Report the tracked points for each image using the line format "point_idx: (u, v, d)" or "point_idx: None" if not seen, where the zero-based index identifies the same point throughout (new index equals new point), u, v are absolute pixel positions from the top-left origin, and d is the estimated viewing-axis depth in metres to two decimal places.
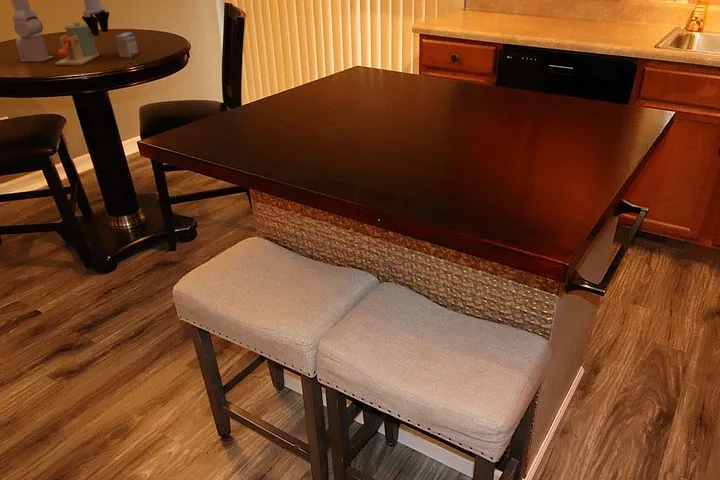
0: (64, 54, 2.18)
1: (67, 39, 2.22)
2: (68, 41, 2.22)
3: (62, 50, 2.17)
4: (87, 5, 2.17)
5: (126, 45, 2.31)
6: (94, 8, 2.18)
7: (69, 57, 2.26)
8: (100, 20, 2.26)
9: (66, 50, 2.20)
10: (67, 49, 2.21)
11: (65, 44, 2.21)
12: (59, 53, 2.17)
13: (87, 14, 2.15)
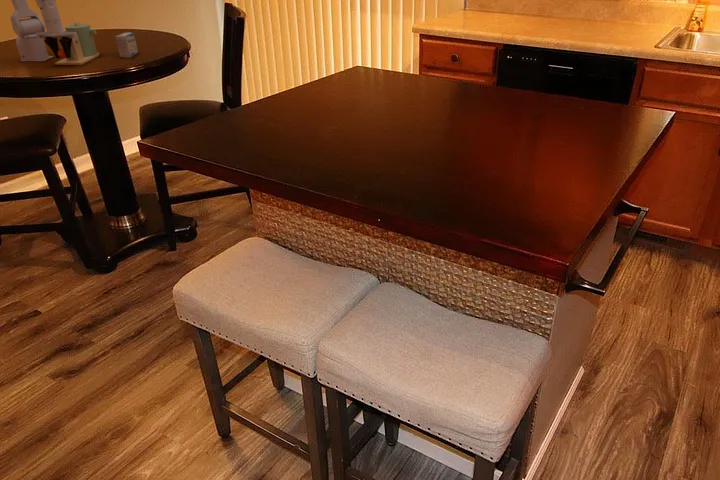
0: (64, 54, 2.18)
1: None
2: None
3: (62, 50, 2.17)
4: None
5: (126, 45, 2.31)
6: (47, 32, 2.13)
7: None
8: None
9: None
10: None
11: None
12: (59, 53, 2.17)
13: None
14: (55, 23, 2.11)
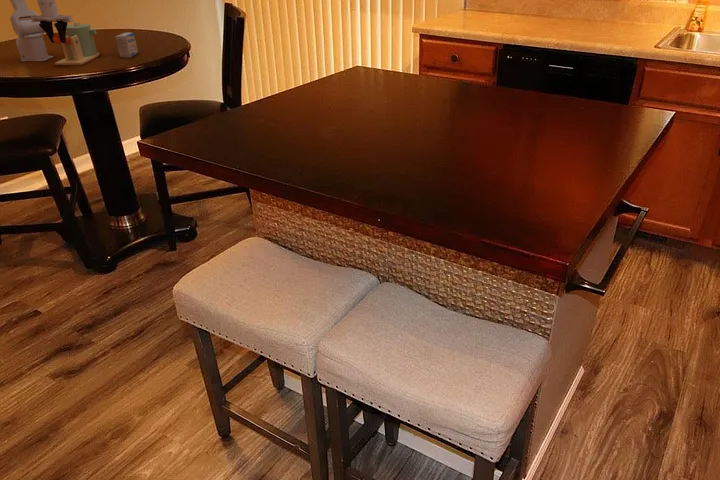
0: (59, 38, 2.15)
1: None
2: (68, 38, 2.22)
3: (58, 35, 2.15)
4: None
5: (126, 45, 2.31)
6: (41, 15, 2.10)
7: (69, 57, 2.26)
8: None
9: None
10: None
11: None
12: (54, 36, 2.14)
13: None
14: (50, 6, 2.08)
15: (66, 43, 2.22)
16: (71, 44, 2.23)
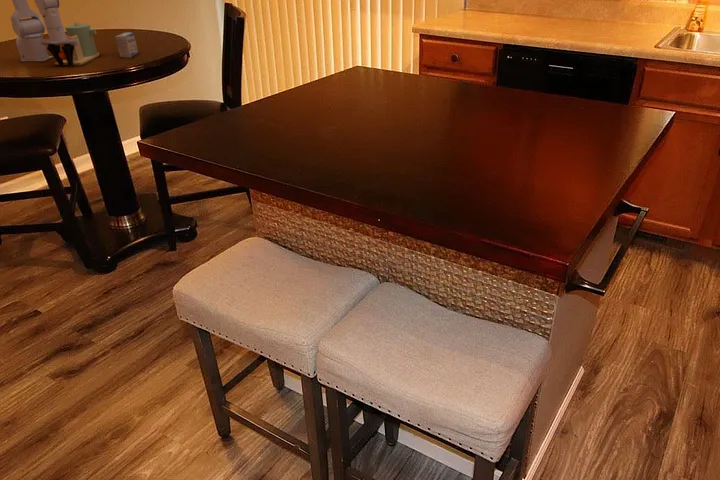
0: (65, 56, 2.19)
1: None
2: None
3: (63, 52, 2.18)
4: None
5: (126, 45, 2.31)
6: (49, 39, 2.15)
7: None
8: None
9: None
10: None
11: None
12: (60, 55, 2.18)
13: None
14: (58, 30, 2.13)
15: None
16: None
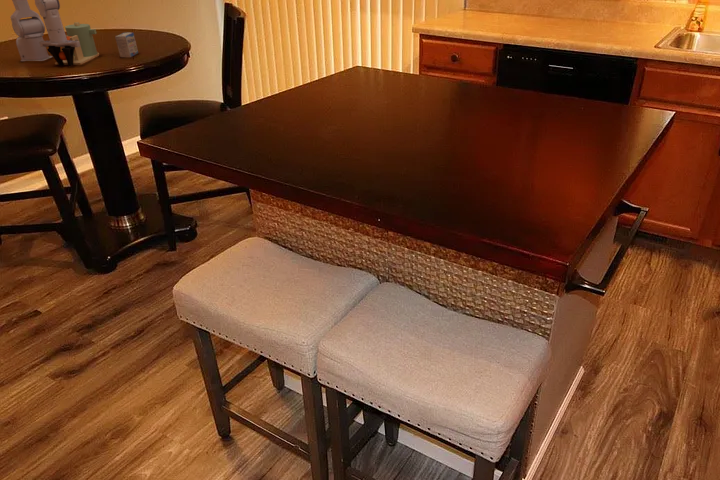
0: None
1: (67, 39, 2.22)
2: None
3: (63, 53, 2.18)
4: None
5: (126, 45, 2.31)
6: (50, 41, 2.15)
7: None
8: None
9: None
10: None
11: None
12: (61, 56, 2.18)
13: None
14: (58, 32, 2.13)
15: None
16: None
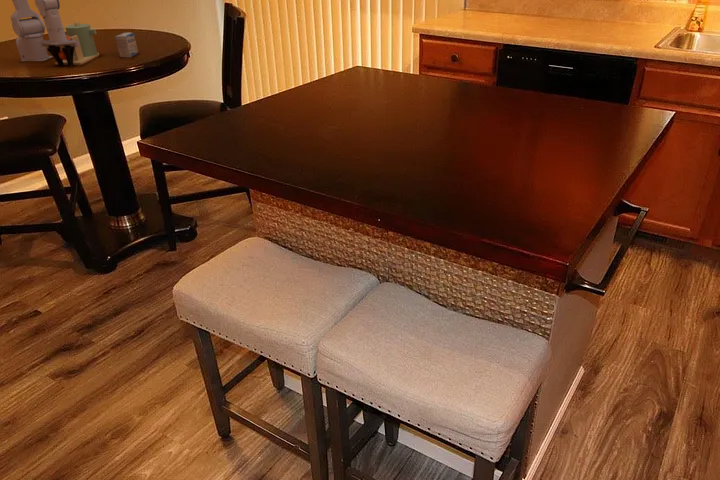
0: (65, 56, 2.19)
1: (67, 39, 2.22)
2: None
3: (63, 52, 2.18)
4: None
5: (126, 45, 2.31)
6: (50, 40, 2.15)
7: None
8: None
9: None
10: None
11: None
12: (60, 55, 2.18)
13: None
14: (58, 32, 2.13)
15: None
16: None
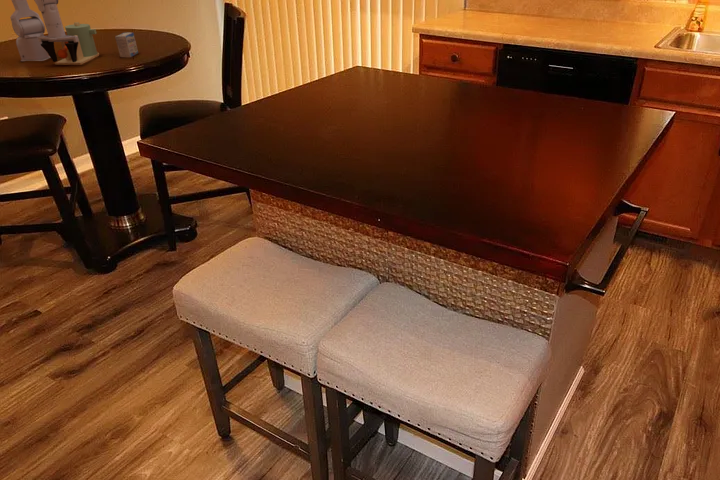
0: (64, 54, 2.18)
1: None
2: None
3: (62, 50, 2.18)
4: None
5: (126, 45, 2.31)
6: (48, 36, 2.14)
7: (69, 57, 2.26)
8: None
9: (66, 50, 2.20)
10: (67, 49, 2.21)
11: None
12: (59, 53, 2.17)
13: None
14: (56, 27, 2.12)
15: None
16: None
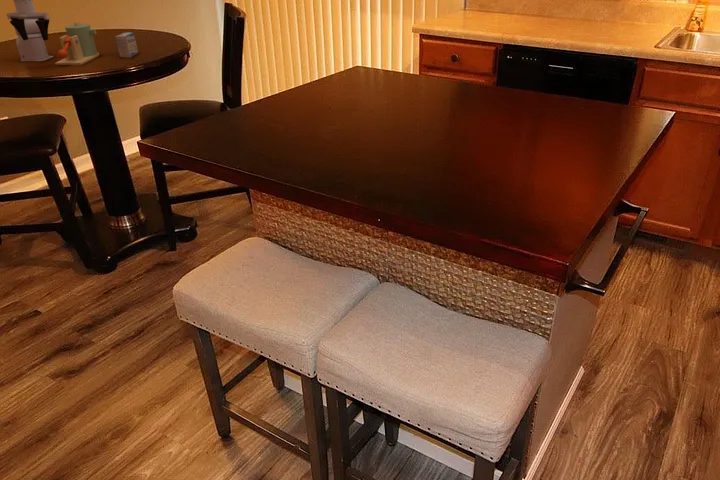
0: (64, 54, 2.18)
1: (67, 39, 2.22)
2: (68, 41, 2.22)
3: (62, 50, 2.18)
4: None
5: (126, 45, 2.31)
6: (18, 12, 2.07)
7: (69, 57, 2.26)
8: None
9: (66, 50, 2.20)
10: (67, 49, 2.21)
11: (66, 44, 2.21)
12: (59, 53, 2.17)
13: None
14: (26, 3, 2.05)
15: None
16: None
